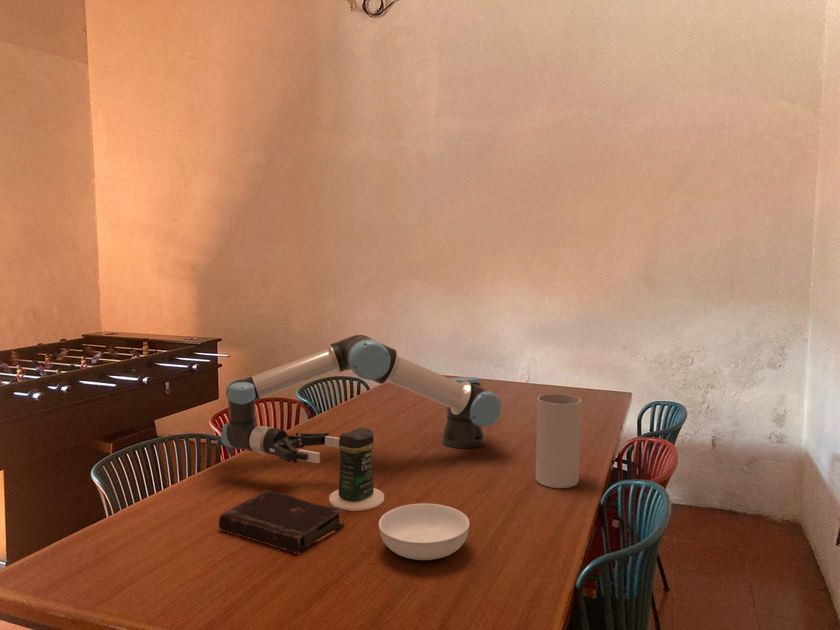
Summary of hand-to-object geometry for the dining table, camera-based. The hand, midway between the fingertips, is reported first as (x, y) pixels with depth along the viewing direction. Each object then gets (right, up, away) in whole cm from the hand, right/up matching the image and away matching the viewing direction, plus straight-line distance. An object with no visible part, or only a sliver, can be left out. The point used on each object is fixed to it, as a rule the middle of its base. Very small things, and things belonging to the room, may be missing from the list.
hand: (332, 450), depth 184 cm
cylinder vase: (+65, -12, +13) cm, 67 cm away
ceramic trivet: (+7, -13, -1) cm, 15 cm away
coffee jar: (+7, -12, -1) cm, 14 cm away
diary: (-10, -16, -19) cm, 27 cm away
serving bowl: (+25, -17, -30) cm, 42 cm away
